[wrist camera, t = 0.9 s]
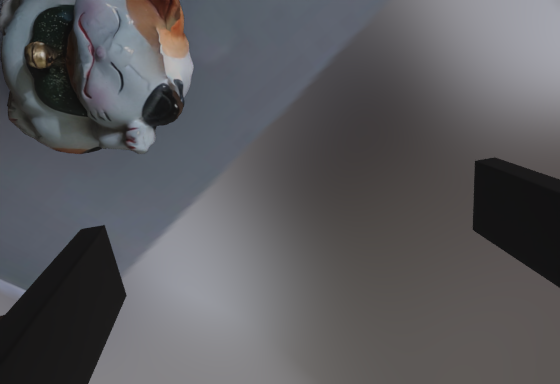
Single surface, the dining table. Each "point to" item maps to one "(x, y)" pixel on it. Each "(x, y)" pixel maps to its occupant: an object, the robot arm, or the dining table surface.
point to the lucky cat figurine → (94, 70)
